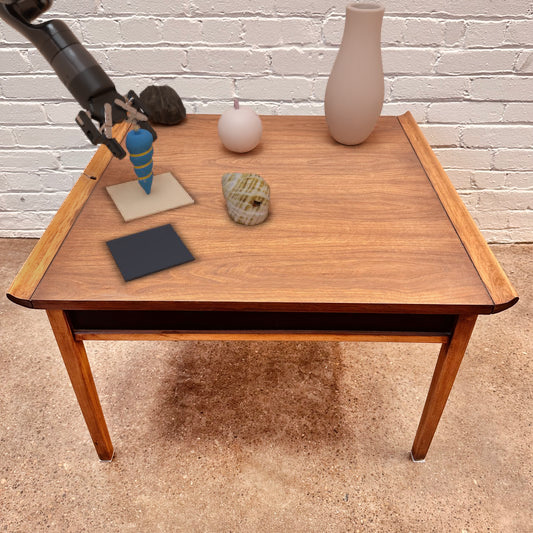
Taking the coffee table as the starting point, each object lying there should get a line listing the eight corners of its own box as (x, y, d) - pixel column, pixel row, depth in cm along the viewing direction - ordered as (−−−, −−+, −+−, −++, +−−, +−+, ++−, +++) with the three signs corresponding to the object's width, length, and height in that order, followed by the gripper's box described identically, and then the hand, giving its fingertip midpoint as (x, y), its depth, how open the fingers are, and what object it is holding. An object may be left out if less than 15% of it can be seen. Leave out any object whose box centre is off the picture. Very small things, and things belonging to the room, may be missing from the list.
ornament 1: (163, 188, 99) (153, 118, 90) (157, 201, 95) (145, 129, 86) (139, 187, 100) (126, 117, 90) (131, 200, 96) (117, 128, 86)
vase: (374, 130, 124) (395, 0, 105) (378, 154, 113) (402, 14, 94) (321, 127, 125) (332, -2, 106) (320, 151, 114) (332, 11, 95)
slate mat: (125, 282, 77) (125, 280, 77) (106, 243, 85) (105, 241, 85) (194, 260, 82) (194, 258, 81) (170, 225, 90) (169, 223, 90)
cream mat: (125, 221, 90) (125, 220, 90) (106, 188, 100) (105, 187, 100) (194, 203, 96) (194, 201, 96) (169, 173, 105) (169, 171, 105)
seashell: (265, 227, 88) (240, 180, 84) (226, 235, 94) (201, 191, 89) (287, 199, 95) (265, 154, 90) (249, 207, 101) (227, 165, 96)
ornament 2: (211, 147, 115) (207, 98, 108) (246, 137, 120) (245, 89, 112) (234, 164, 109) (233, 112, 101) (270, 152, 114) (271, 102, 106)
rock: (189, 124, 124) (179, 84, 118) (146, 133, 123) (134, 94, 117) (187, 113, 132) (177, 76, 126) (146, 122, 131) (135, 84, 126)
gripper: (58, 75, 81) (120, 153, 84) (119, 54, 91) (173, 125, 94) (46, 100, 87) (105, 173, 90) (104, 78, 96) (156, 144, 99)
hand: (139, 148), depth 92 cm, fingers open, 8 cm apart
